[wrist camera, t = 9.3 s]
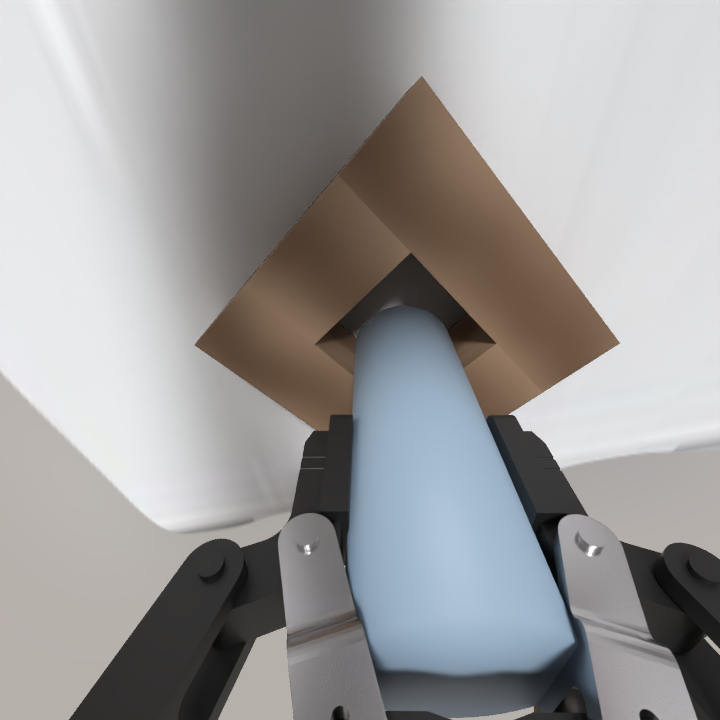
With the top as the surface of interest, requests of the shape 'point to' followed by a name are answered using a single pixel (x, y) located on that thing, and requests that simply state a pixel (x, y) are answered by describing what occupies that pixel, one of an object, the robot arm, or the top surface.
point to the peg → (442, 536)
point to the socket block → (389, 248)
